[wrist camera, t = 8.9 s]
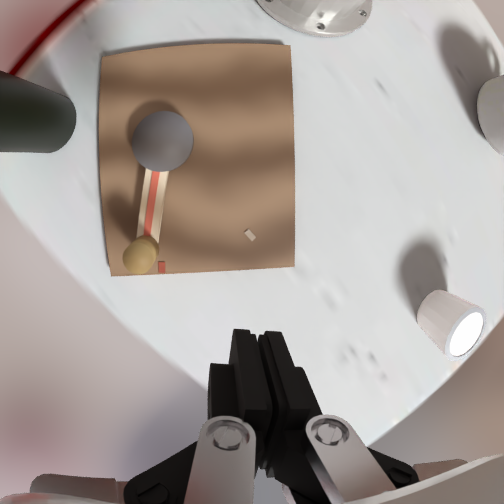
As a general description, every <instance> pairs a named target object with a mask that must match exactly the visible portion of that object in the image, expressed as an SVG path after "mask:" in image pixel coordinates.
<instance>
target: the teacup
mask: <svg viewBox="0 0 504 504" xmlns="http://www.w3.org/2000/svg"><path fill="white" fill-rule="evenodd" d="M477 114H478V120H479V124H480V127H481V129H482V131H483V133H484V135H485V137H486V139H487V141H488V142H489V144H490V145H491V146H492V147H493V148H494V149H495V150H496V151H497V152H498V153H499V154H501V155H503V156H504V75H502V76H498V77H495V78H493V79H490V80H488V81H487V82H486V83H485V84H484V85H483V86H482V87H481V89H480V91H479V94H478V99H477Z"/></svg>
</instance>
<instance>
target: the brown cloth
mask: <svg viewBox="0 0 504 504" xmlns="http://www.w3.org/2000/svg"><path fill="white" fill-rule="evenodd" d="M159 111H170V112H174V113H176V114H178V115H180V116H181V117H183V118H184V119H185V120H186V121H187V123H188V124H189V126H190V128H191V130H192V132H193V137H194V144H193V149H192V152H191V154H190V156H189V158H188V159H187V160H186V161H185V162H184V163H183V164H182V165H181V166H180V167H178V168H176V169H174V170H171V171H169V175H168V181H167V187H166V193H165V200H164V206H163V213H162V220H161V227H160V234H159V242H158V245H159V254H158V257H157V258H156V260H155V261H154V263H153V265H152V266H151V268H150V269H149V271H147V272H146V273H144V274H139V275H154V274H175V273H195V272H214V271H232V270H249V269H266V268H282V267H294V260H295V155H294V114H293V88H292V66H291V48H290V45H277V44H254V43H218V44H195V45H181V46H170V47H161V48H153V49H145V50H138V51H132V52H126V53H120V54H115V55H109V56H105V57H102V63H101V77H100V96H99V162H100V182H101V196H102V208H103V219H104V228H105V237H106V245H107V252H108V259H109V266H110V272H111V276H131V275H138V274H133V273H131V272H130V271H128V270H127V269H126V267H125V266H124V263H123V253H124V251H125V249H126V248H127V247H128V246H129V245H130V244H131V243H132V242H133V241H134V240H135V239H136V238H137V229H138V220H139V213H140V205H141V198H142V191H143V185H144V178H145V172H146V168H145V167H143V166H142V165H141V164H140V163H139V162H138V161H137V159H136V158H135V156H134V153H133V150H132V137H133V133H134V131H135V129H136V127H137V125H138V124H139V123H140V122H141V121H142V120H143V119H144V118H145V117H146V116H148V115H150V114H152V113H155V112H159Z"/></svg>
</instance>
